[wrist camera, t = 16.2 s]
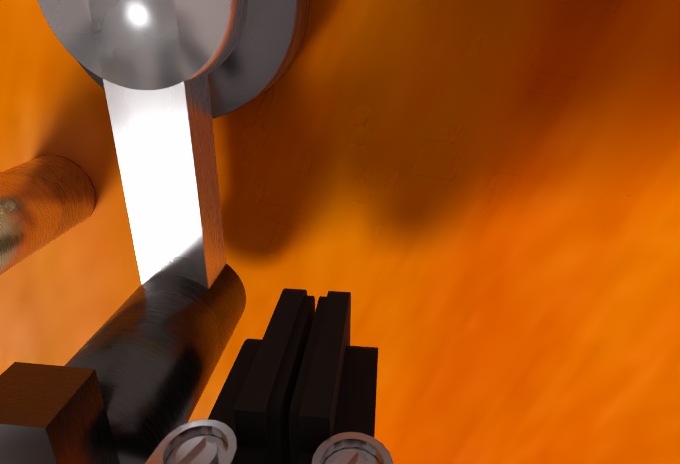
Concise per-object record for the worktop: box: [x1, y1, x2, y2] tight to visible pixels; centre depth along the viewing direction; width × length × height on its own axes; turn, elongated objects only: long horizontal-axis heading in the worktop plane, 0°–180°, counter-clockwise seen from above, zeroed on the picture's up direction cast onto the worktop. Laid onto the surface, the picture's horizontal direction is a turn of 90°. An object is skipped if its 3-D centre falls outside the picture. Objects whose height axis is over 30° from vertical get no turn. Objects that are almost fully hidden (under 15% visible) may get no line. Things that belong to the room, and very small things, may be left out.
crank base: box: [0, 0, 309, 275], centre depth 11 cm, size 12×7×5 cm, turn 158°
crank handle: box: [0, 0, 248, 464], centre depth 9 cm, size 12×4×7 cm, turn 179°
